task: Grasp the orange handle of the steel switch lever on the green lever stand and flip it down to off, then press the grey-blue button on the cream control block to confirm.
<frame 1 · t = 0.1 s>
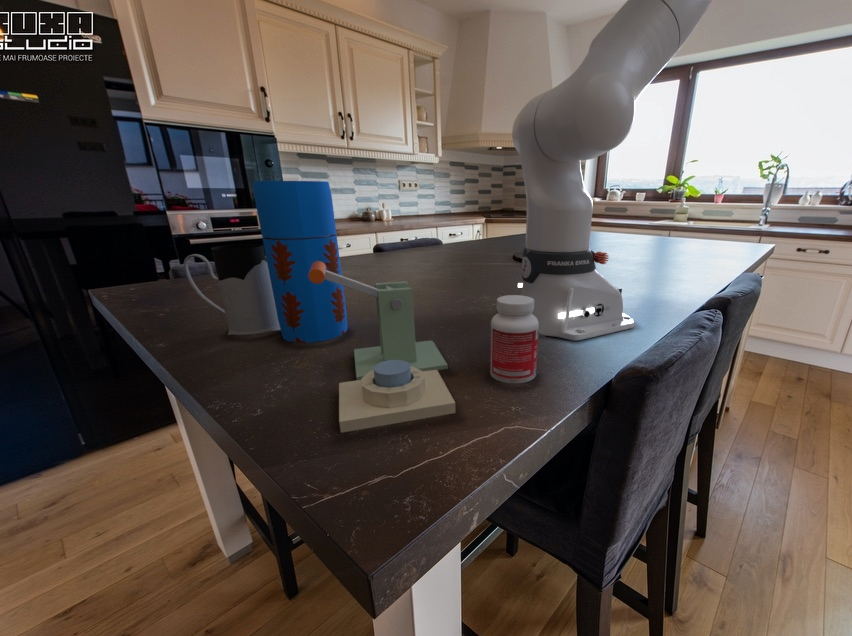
thermos: (316, 337, 69), on the table
green lever stand: (399, 366, 57), on the table
power button: (392, 373, 44), point 4 cm above the table, slide at 0.1 cm
pill bottle: (512, 380, 53), on the table
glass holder: (241, 332, 71), on the table
switch lever: (359, 286, 52), point 12 cm above the table, hinge at 25.0°
control block: (395, 408, 46), on the table
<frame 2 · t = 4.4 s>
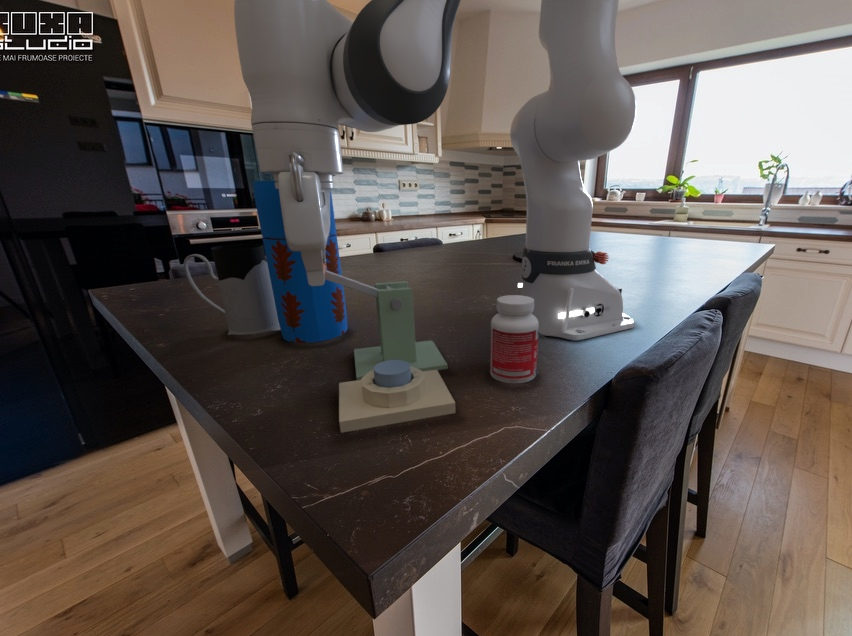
hand: (318, 278, 50), 13 cm above the table, tool pointing down, fingers closed on switch lever, 6 cm apart
switch lever: (359, 286, 52), point 12 cm above the table, hinge at 24.9°, touching gripper
everything else where it was.
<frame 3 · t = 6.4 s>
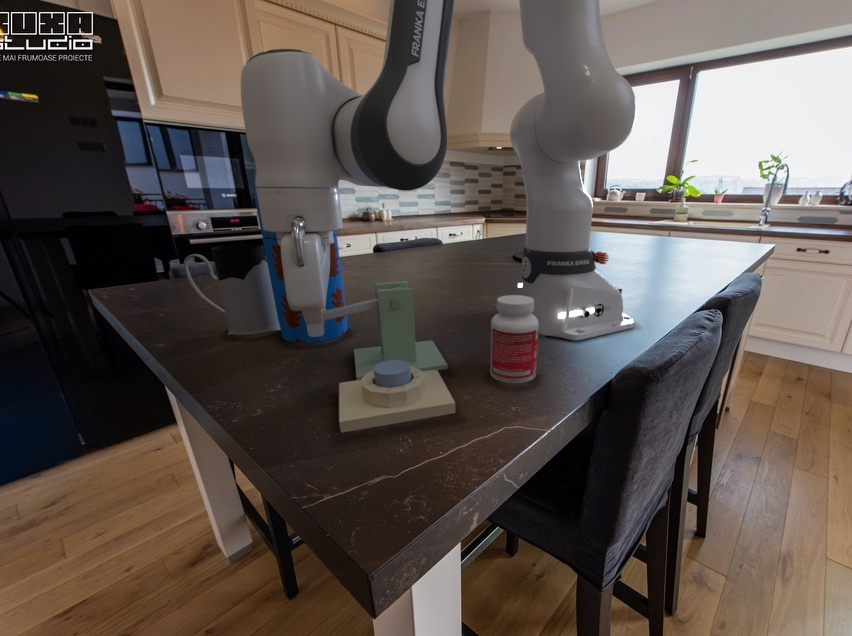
hand: (318, 325, 52), 7 cm above the table, tool pointing down, fingers closed on switch lever, 6 cm apart
switch lever: (358, 307, 52), point 9 cm above the table, hinge at -9.4°, touching gripper
everything else where it was.
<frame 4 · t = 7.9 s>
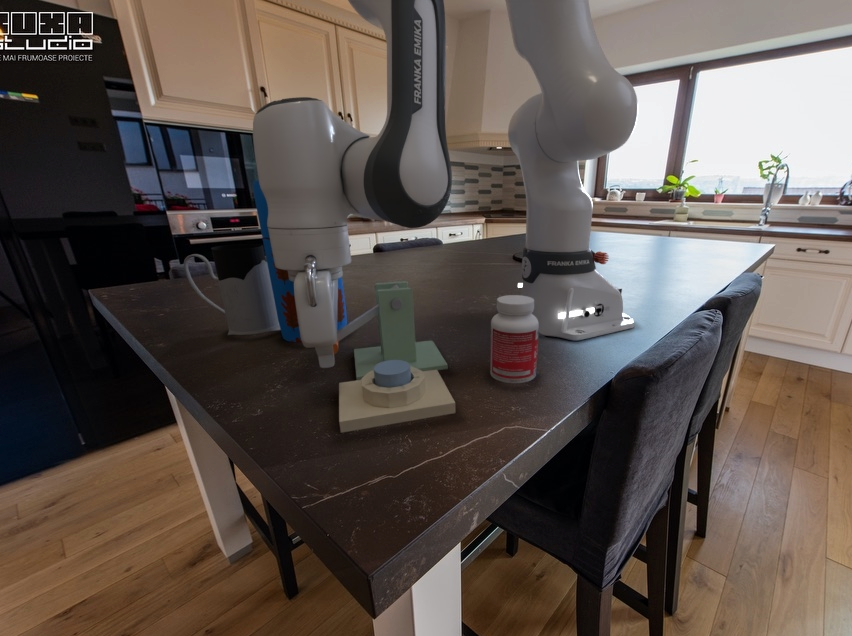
hand: (328, 354, 53), 3 cm above the table, tool pointing down, fingers closed on switch lever, 6 cm apart
switch lever: (364, 318, 53), point 8 cm above the table, hinge at -30.1°, touching gripper
everything else where it was.
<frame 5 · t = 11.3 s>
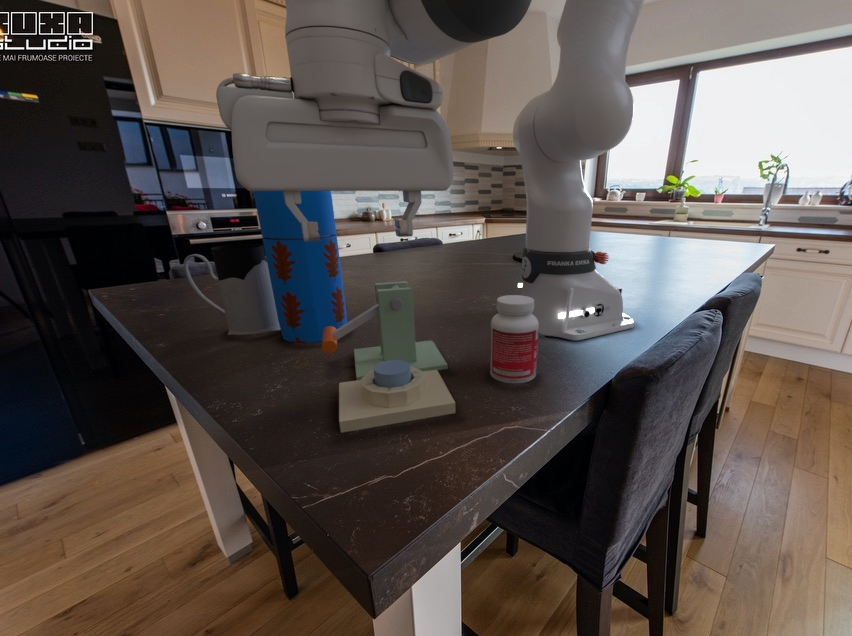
hand: (360, 238, 41), 19 cm above the table, tool pointing down, fingers open, 8 cm apart
switch lever: (363, 317, 53), point 8 cm above the table, hinge at -28.6°
everything else where it was.
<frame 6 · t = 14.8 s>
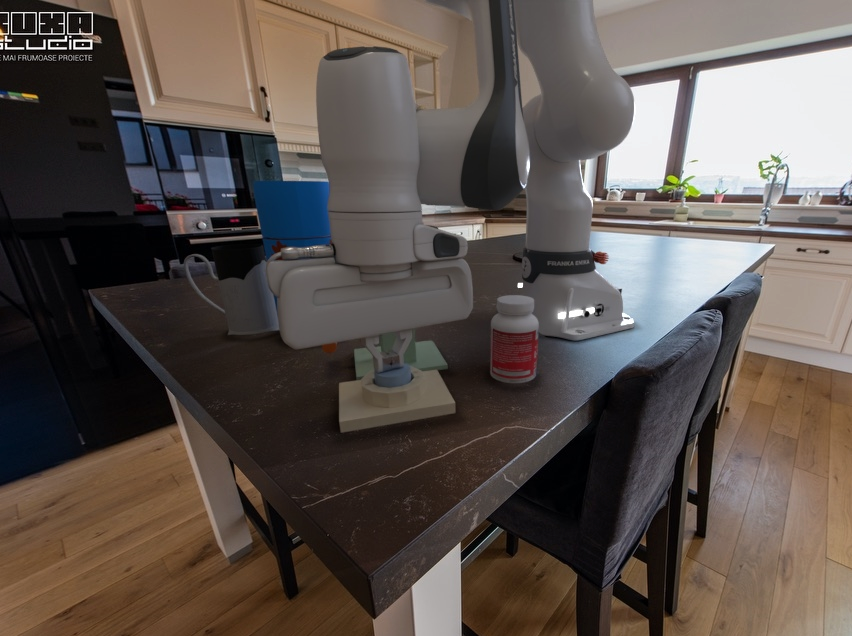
hand: (389, 368, 44), 5 cm above the table, tool pointing down, fingers closed, pressing on power button
power button: (392, 376, 44), point 4 cm above the table, slide at -0.2 cm, touching gripper
everything else where it was.
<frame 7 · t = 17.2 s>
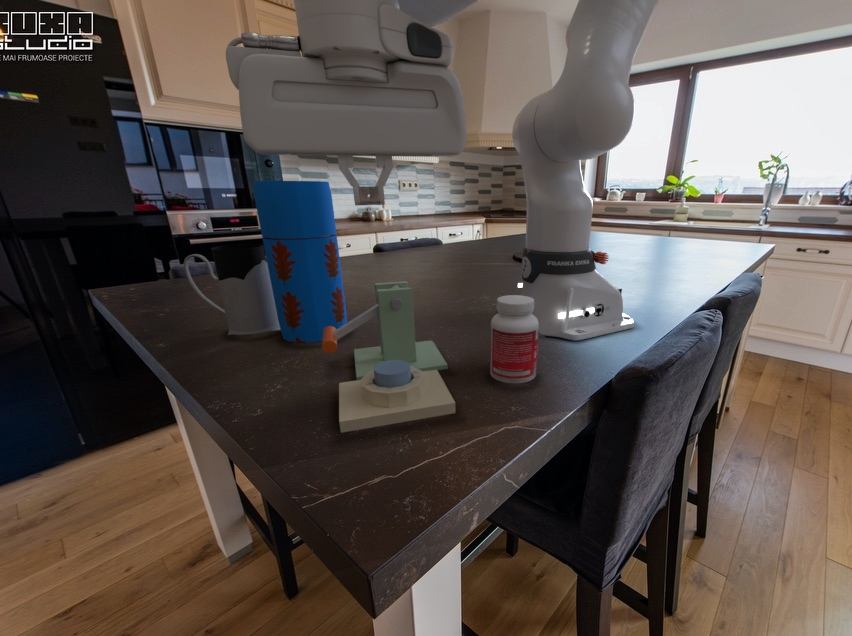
hand: (369, 205, 40), 22 cm above the table, tool pointing down, fingers closed
power button: (392, 373, 44), point 4 cm above the table, slide at 0.1 cm
everything else where it was.
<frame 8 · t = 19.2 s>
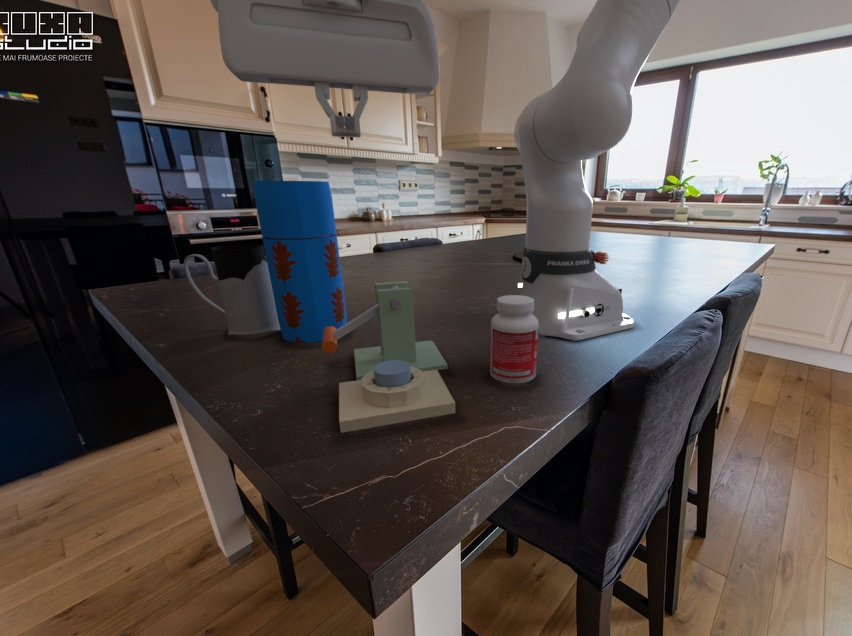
hand: (346, 136, 42), 29 cm above the table, tool pointing down, fingers closed
nothing on the table moved.
at the end: switch lever at -29° (first picture: +25°); power button pushed in 1.1 cm at the most during the clip, back to where it started at the end; power button slide at 0.1 cm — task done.
